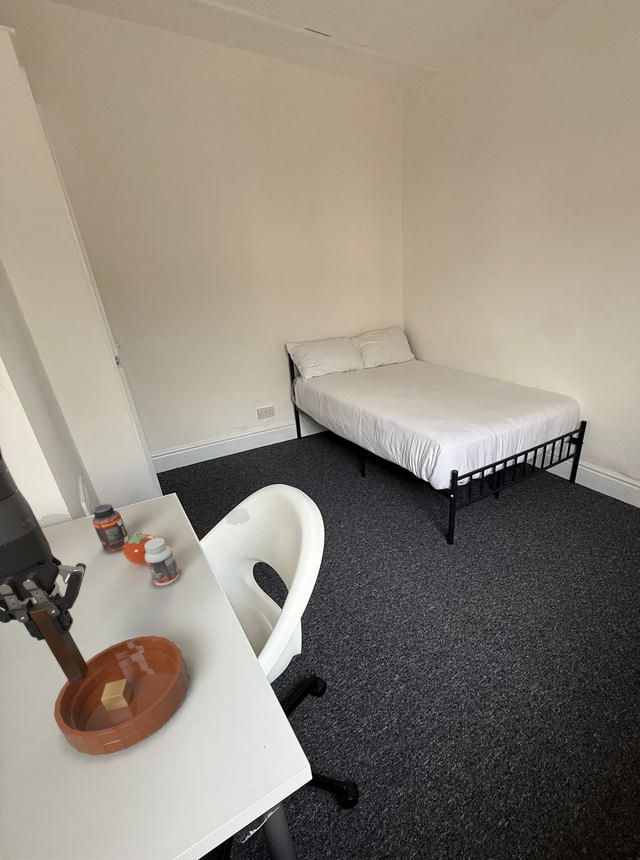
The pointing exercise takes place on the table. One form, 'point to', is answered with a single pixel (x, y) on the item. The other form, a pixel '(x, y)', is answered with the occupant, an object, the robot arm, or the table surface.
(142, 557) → the tomato
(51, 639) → the stick
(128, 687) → the block
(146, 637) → the bowl
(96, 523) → the supplement bottle
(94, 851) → the table surface
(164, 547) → the pill bottle
